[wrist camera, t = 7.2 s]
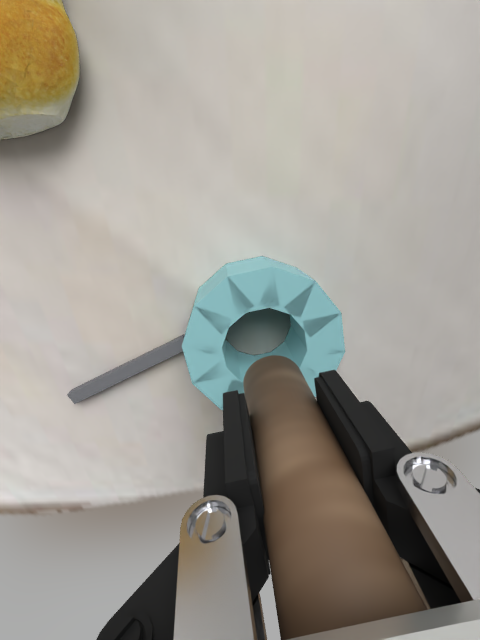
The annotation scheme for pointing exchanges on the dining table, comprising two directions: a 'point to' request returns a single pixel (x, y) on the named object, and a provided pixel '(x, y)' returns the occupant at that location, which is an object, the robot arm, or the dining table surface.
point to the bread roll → (35, 66)
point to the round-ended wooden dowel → (317, 514)
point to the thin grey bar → (126, 370)
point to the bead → (250, 295)
